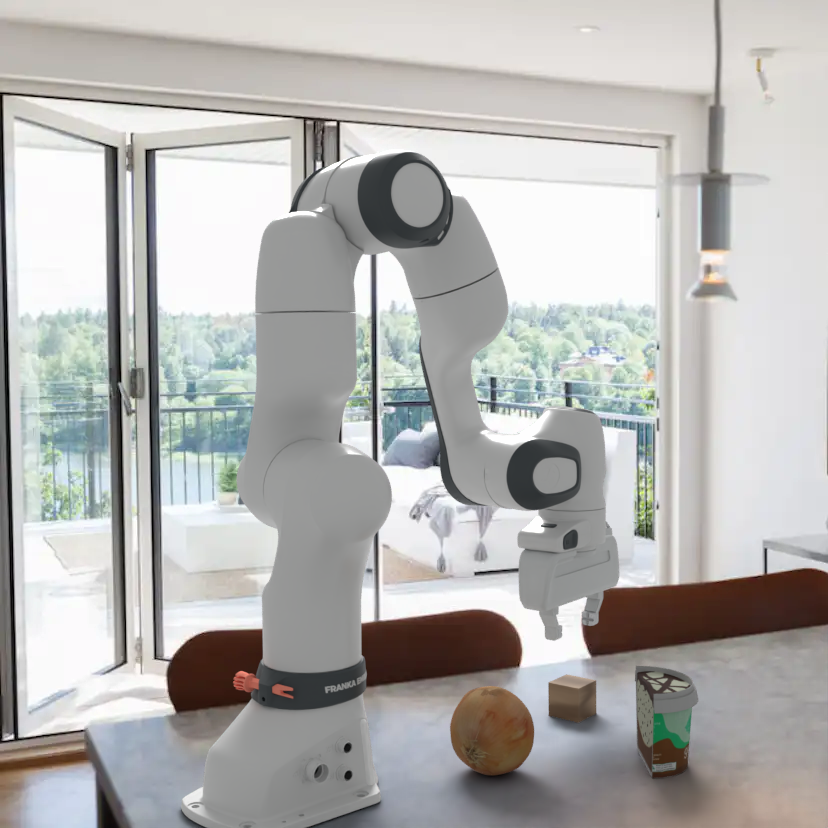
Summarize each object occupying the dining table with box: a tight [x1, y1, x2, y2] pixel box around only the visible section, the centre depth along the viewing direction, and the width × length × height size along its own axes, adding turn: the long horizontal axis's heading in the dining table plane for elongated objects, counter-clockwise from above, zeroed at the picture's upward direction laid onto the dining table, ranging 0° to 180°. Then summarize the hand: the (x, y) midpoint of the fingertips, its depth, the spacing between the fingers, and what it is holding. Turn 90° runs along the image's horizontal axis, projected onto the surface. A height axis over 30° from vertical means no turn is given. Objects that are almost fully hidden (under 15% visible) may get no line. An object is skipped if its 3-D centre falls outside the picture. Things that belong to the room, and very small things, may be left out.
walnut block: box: [547, 674, 597, 724], centre depth 146 cm, size 5×5×5 cm
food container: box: [634, 665, 699, 779], centre depth 129 cm, size 12×6×10 cm, turn 179°
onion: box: [449, 685, 535, 776], centre depth 126 cm, size 10×10×10 cm
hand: (572, 631), depth 146 cm, fingers open, 8 cm apart
